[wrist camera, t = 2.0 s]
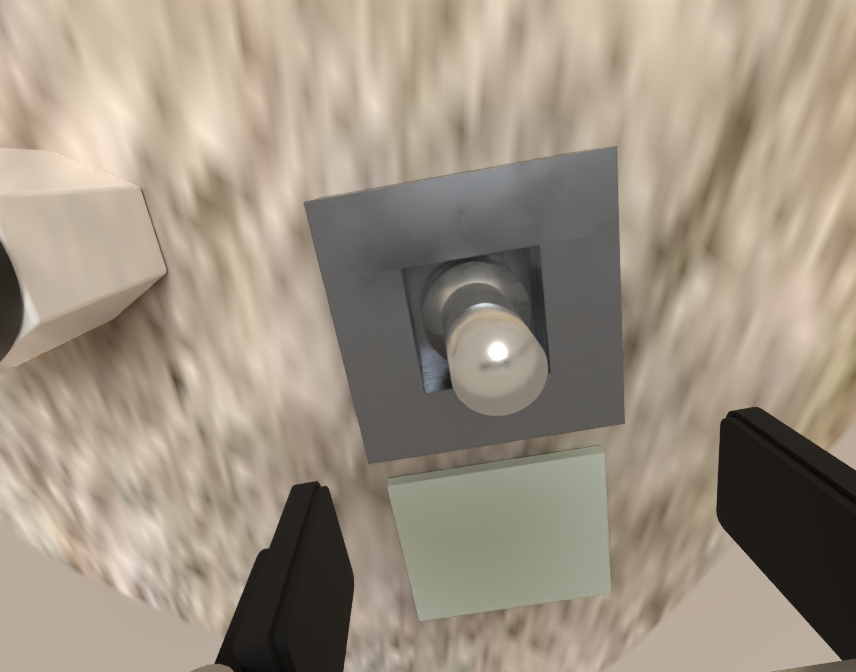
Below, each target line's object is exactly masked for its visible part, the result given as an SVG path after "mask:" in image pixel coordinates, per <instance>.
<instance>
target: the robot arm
mask: <svg viewBox="0 0 856 672" xmlns="http://www.w3.org/2000/svg"><path fill="white" fill-rule="evenodd" d="M716 511H717V517H718V520H719V522H720V524H721V526H722V527H723V528H724V530H725V531H726V532H727V533H728V534H729V535H730V536H731V537H732V539H733V540H734V541H735V542H736V543H737V544H738V545H739V546H740V547H741V548H742V550H743V551H744V552H745V553H746V554H747V555H748V556H749V557H750V559H752V561H753V562H754V563H755V564H756V565H757V566H758V567H759V568H760V570H761V571H762V572H763V573H764V574H765V575H766V576H767V577H768V579H769V580H770V581H771V582H772V583H773V584H774V585H775V586H776V587H777V588H778V589H779V591H780V592H781V593H782V594H783V595H784V596H785V597H786V599H788V601H789V602H790V603H791V604H792V605H793V606H794V607H795V609H797V610H798V612H799V613H800V614H801V615H802V616H803V617H804V618H805V620H806V621H807V622H808V623H809V624H810V625H811V626H812V627H813V628H814V630H815V631H816V632H817V633H818V634H819V635H820V636H821V637H822V638H823V640H824V641H825V642H826V643H827V644H828V645H829V646H830V647H831V648H832V650H833V651H834V652H835V653H836V654H837V655H838V656H839V657H840V659H841V660H842V661H838V662H832V663H825V664H818V665H812V666H806V667H799V668H793V669H786V670H780V671H773V672H856V470H854V469H853V468H851V467H849V466H848V465H847V464H845V463H844V462H842V461H840V460H839V459H837V458H836V457H834V456H833V455H831V454H830V453H828V452H827V451H825V450H824V449H822V448H821V447H819V446H818V445H816V444H814V443H813V442H811V441H810V440H808V439H807V438H805V437H804V436H802V435H801V434H799V433H798V432H796V431H795V430H793V429H792V428H790V427H788V426H787V425H785V424H784V423H782V422H781V421H779V420H778V419H776V418H775V417H773V416H772V415H770V414H769V413H767V412H766V411H764V410H762V409H761V408H758V407H751V408H745V409H739V410H734V411H730V412H728V414H727V416H726V418H724V419H723V420H722V421H721V424H720V444H719V465H718V487H717V508H716ZM353 593H354V576H353V571H352V567H351V564H350V560H349V557H348V554H347V550H346V547H345V543H344V540H343V536H342V533H341V529H340V526H339V522H338V519H337V515H336V512H335V508H334V505H333V501H332V498H331V494H330V491H329V488H328V487H327V486H323V487H321V485H320V483H319V482H318V481H315V482H309V483H303V484H297V485H294V486H293V487H292V489H291V491H290V494H289V497H288V499H287V502H286V505H285V507H284V510H283V513H282V515H281V518H280V521H279V523H278V526H277V529H276V531H275V534H274V537H273V539H272V542H271V545H270V548H268V549H263V550H262V551H260V552H259V554H258V556H257V558H256V560H255V563H254V565H253V568H252V570H251V573H250V575H249V578H248V580H247V583H246V585H245V588H244V590H243V593H242V596H241V598H240V601H239V603H238V606H237V608H236V611H235V613H234V616H233V618H232V621H231V623H230V626H229V628H228V631H227V633H226V636H225V638H224V641H223V643H222V646H221V648H220V651H219V653H218V656H217V658H216V661H215V664H213V665H206V666H203V667H200V668H198V669H195V670H193V671H191V672H343V669H344V662H345V654H346V646H347V639H348V631H349V623H350V616H351V608H352V600H353Z"/></svg>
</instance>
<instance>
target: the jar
mask: <svg viewBox="0 0 856 672" xmlns="http://www.w3.org/2000/svg"><path fill="white" fill-rule="evenodd" d="M166 272H167V270H166V266H165V263H164V260H163V257H162V254H161V251H160V248H159V244H158V241H157V238H156V235H155V232H154V229H153V226H152V223H151V220H150V216H149V213H148V210H147V207H146V204H145V201H144V198H143V194H142V191H141V189H140V187H139V186H137V185H135V184H132V183H130V182H127V181H125V180H122V179H120V178H117V177H115V176H112V175H110V174H107V173H105V172H102V171H100V170H97V169H95V168H92V167H90V166H87V165H85V164H82V163H80V162H77V161H75V160H72V159H70V158H67V157H65V156H62V155H60V154H57V153H55V152H52V151H47V150H29V149H12V148H0V374H1V373H4V372H6V371H8V370H10V369H12V368H14V367H16V366H18V365H20V364H22V363H24V362H26V361H28V360H30V359H32V358H34V357H37V356H39V355H41V354H43V353H45V352H47V351H49V350H51V349H53V348H55V347H57V346H59V345H61V344H63V343H65V342H67V341H70V340H72V339H74V338H76V337H78V336H80V335H82V334H84V333H86V332H88V331H90V330H92V329H94V328H96V327H98V326H100V325H103V324H105V323H107V322H109V321H111V320H113V319H114V318H115V317H116V316H118V315H119V314H120V313H121V312H122V311H123V310H124V309H126V308H127V307H128V306H129V305H130V304H131V303H132V302H134V301H135V300H136V299H137V298H138V297H139V296H141V295H142V294H143V293H144V292H145V291H146V290H147V289H149V288H150V287H151V286H152V285H153V284H154V283H156V282H157V281H158V280H159V279H160V278H161V277H162V276H164V275H165V274H166Z"/></svg>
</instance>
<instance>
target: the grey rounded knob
mask: <svg viewBox="0 0 856 672" xmlns="http://www.w3.org/2000/svg"><path fill="white" fill-rule="evenodd" d="M421 311H422V326H423V330H424V333H425V336H426V338H427V340H428V342H429V344H430V345H431V346H432V348H433V349H434V350H435V351H436V352H437V353H438V354H439V355H440V356H441V357H443V358H444V359H446V360H448V364H449V370H450V376H451V381H452V386H453V388H454V391H455V393H456V395H457V396H458V398H459V399H460V400H461V401H462V402H463V403H464V404H465V405H466V406H467V407H469V408H470V409H472V410H474V411H475V412H478V413H481V414H484V415H490V416H503V415H509V414H512V413H515V412H518V411H520V410H522V409H524V408H525V407H527V406H528V405H530V404H531V403H532V402H533V401H534V400H535V399H536V398H537V397H538V395H539V394H540V393H541V391H542V389H543V388H544V385H545V383H546V379H547V374H548V363H547V358H546V355H545V352H544V350H543V348H542V347H541V345H540V344H539V343H538V341H537V340H536V338H535V337H534V336H533V334H532V333H531V331H530V330H529V329H528V328H529V324H530V318H531V307H530V301H529V298H528V295H527V293H526V291H525V289H524V287H523V286H522V284H521V283H520V281H519V280H518V279H517V278H516V277H515V276H514V275H513V274H512V273H511V272H510V271H509V270H508V269H507V268H506V267H505V266H504V265H502V264H501V263H499V262H497V261H495V260H493V259H490V258H487V257H482V256H473V257H467V258H461V259H455V260H452V261H450V262H448V263H446V264H445V265H443V266H442V267H441V268H439V269H438V270H437V271H436V272H435V273H434V274H433V276H432V277H431V278H430V280H429V281H428V283H427V285H426V287H425V289H424V293H423V296H422V305H421Z"/></svg>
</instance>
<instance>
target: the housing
mask: <svg viewBox="0 0 856 672" xmlns="http://www.w3.org/2000/svg"><path fill="white" fill-rule="evenodd" d="M304 206H305V210H306V214H307V218H308V222H309V226H310V230H311V234H312V238H313V242H314V246H315V250H316V254H317V258H318V262H319V266H320V270H321V274H322V278H323V282H324V286H325V290H326V294H327V298H328V302H329V306H330V310H331V314H332V318H333V322H334V326H335V330H336V334H337V338H338V342H339V346H340V350H341V354H342V358H343V362H344V366H345V370H346V374H347V378H348V382H349V386H350V390H351V394H352V398H353V402H354V406H355V410H356V414H357V418H358V422H359V426H360V430H361V434H362V438H363V442H364V446H365V450H366V454H367V458H368V462H369V464H372V463H379V462H385V461H391V460H398V459H404V458H410V457H417V456H423V455H429V454H436V453H442V452H448V451H455V450H461V449H467V448H474V447H480V446H486V445H493V444H499V443H505V442H512V441H518V440H524V439H531V438H537V437H543V436H550V435H556V434H562V433H569V432H575V431H581V430H588V429H594V428H600V427H607V426H613V425H619V424H625V418H624V383H623V348H622V313H621V278H620V243H619V208H618V173H617V146H614V147H607V148H599V149H591V150H584V151H579V152H573V153H567V154H562V155H556V156H551V157H545V158H539V159H534V160H528V161H523V162H517V163H511V164H506V165H500V166H495V167H489V168H483V169H478V170H472V171H467V172H461V173H455V174H450V175H444V176H439V177H433V178H428V179H422V180H416V181H411V182H405V183H400V184H394V185H388V186H383V187H377V188H372V189H366V190H360V191H355V192H349V193H344V194H338V195H332V196H327V197H321V198H317V199H314V200H310V201H306V202H304ZM473 256H482V257H487V258H490V259H493V260H495V261H497V262H499V263H501V264H502V265H504V266H505V267H506V268H507V269H508V270H509V271H510V272H511V273H512V274H513V275H514V276H515V277H516V278H517V279H518V280H519V281H520V283H521V284H522V286H523V287H524V289H525V291H526V293H527V295H528V298H529V301H530V307H531V318H530V324H529V328H528V329H529V330H530V331H531V333H532V334H533V336H534V337H535V338H536V340H537V341H538V343H539V344H540V345H541V347H542V348H543V350H544V352H545V355H546V358H547V363H548V374H547V379H546V383H545V385H544V388H543V389H542V391H541V393H540V394H539V395H538V397H537V398H536V399H535V400H534V401H533V402H532V403H531V404H530V405H528V406H527V407H525V408H524V409H522V410H520V411H518V412H515V413H512V414H509V415H503V416H490V415H484V414H481V413H478V412H475V411H474V410H472V409H470V408H469V407H467V406H466V405H465V404H464V403H463V402H462V401H461V400H460V399H459V398H458V396H457V395H456V393H455V391H454V388H453V386H452V381H451V376H450V370H449V364H448V360H446V359H444V358H443V357H441V356H440V355H439V354H438V353H437V352H436V351H435V350H434V349H433V348H432V346H431V345H430V344H429V342H428V340H427V338H426V336H425V333H424V330H423V326H422V311H421V305H422V296H423V293H424V289H425V287H426V285H427V283H428V281H429V280H430V278H431V277H432V276H433V274H434V273H435V272H436V271H437V270H438V269H439V268H441V267H442V266H443V265H445V264H446V263H448V262H450V261H452V260H455V259H461V258H467V257H473Z"/></svg>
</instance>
